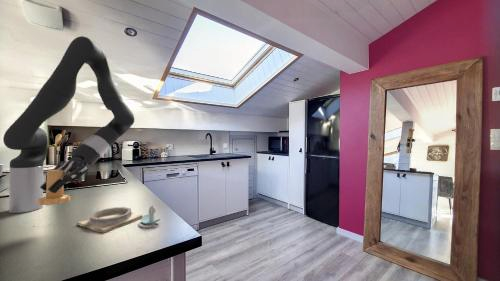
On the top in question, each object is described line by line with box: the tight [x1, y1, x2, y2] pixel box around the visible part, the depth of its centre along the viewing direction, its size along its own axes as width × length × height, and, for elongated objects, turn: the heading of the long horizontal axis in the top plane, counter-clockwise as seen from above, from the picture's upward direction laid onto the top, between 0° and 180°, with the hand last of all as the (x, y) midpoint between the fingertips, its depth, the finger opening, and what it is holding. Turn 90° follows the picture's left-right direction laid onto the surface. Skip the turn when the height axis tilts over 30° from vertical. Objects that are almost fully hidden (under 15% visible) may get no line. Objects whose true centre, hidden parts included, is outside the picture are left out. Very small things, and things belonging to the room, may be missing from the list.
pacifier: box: [137, 205, 161, 229], centre depth 72 cm, size 7×6×6 cm
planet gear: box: [38, 169, 71, 206], centre depth 66 cm, size 8×8×10 cm
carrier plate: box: [76, 206, 144, 234], centre depth 74 cm, size 14×14×3 cm
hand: (47, 190), depth 64 cm, fingers closed on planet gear, 4 cm apart
